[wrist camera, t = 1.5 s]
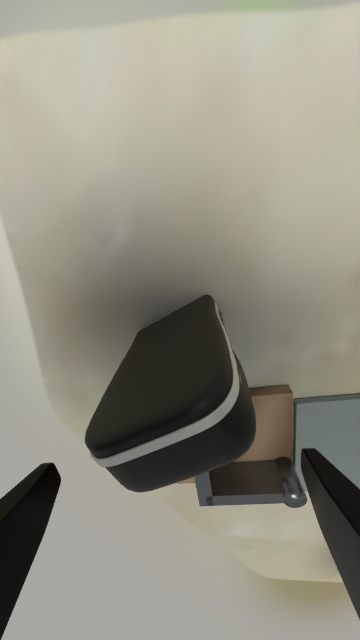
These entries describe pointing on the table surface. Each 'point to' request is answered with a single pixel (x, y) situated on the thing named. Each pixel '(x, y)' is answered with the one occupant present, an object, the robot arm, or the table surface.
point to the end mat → (329, 432)
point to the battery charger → (174, 403)
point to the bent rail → (251, 484)
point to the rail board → (269, 425)
